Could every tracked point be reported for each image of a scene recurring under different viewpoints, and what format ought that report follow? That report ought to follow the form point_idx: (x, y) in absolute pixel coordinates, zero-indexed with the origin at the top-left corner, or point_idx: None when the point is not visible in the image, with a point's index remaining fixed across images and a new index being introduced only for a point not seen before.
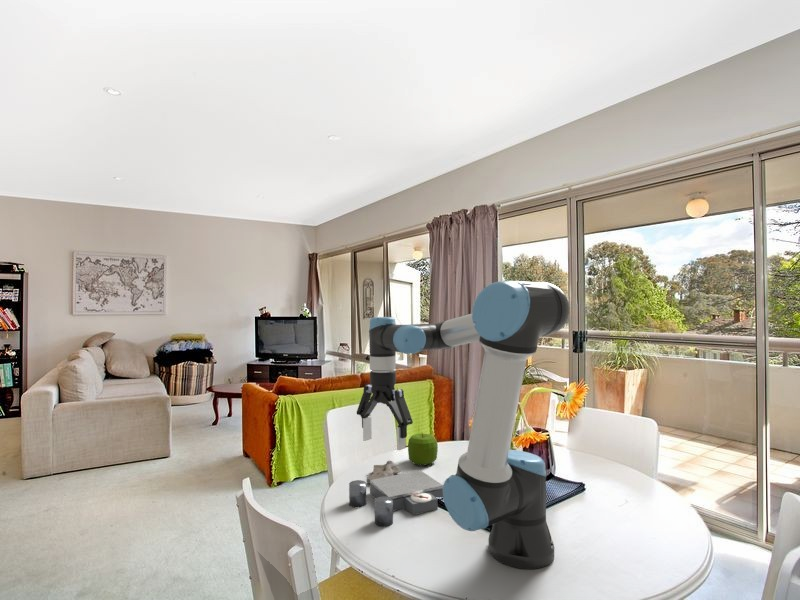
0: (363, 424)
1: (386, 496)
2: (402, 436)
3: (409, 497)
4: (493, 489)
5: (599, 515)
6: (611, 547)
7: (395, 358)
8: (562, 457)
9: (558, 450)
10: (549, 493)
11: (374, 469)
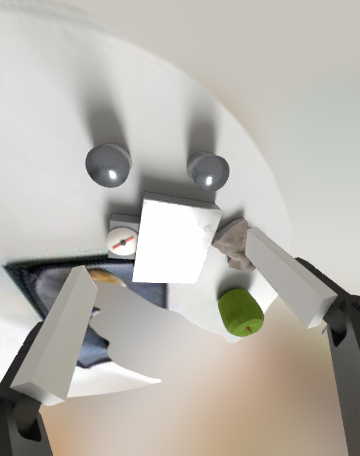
0: (303, 269)
1: (155, 200)
2: (38, 330)
3: (136, 229)
4: None
5: (10, 352)
6: None
7: None
8: (143, 376)
9: (157, 379)
10: None
11: None
